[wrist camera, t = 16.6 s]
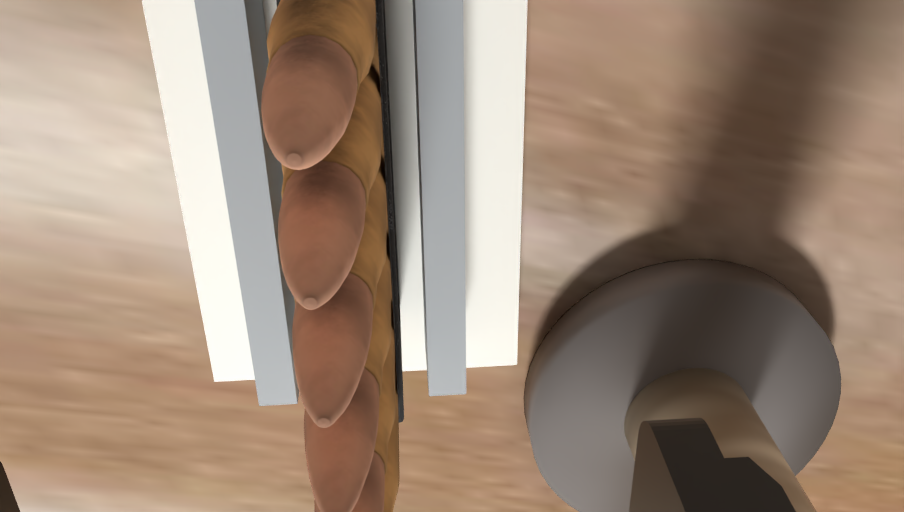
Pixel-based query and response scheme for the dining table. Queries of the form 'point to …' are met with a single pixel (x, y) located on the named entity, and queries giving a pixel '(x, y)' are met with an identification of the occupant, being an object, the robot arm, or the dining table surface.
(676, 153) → the dining table surface
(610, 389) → the bobbin post
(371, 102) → the ammunition clip
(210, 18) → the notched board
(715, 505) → the robot arm
